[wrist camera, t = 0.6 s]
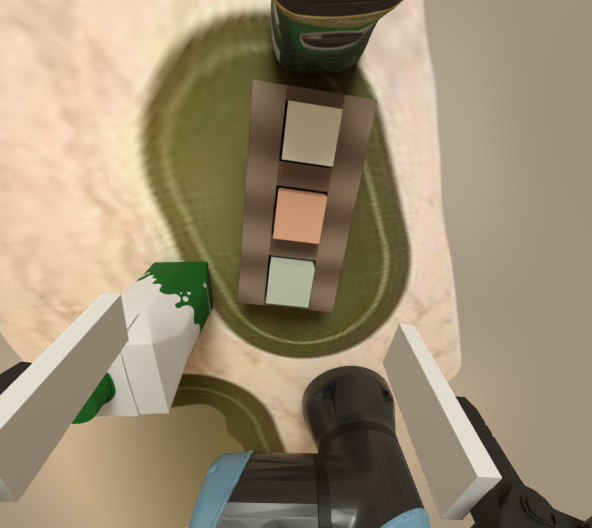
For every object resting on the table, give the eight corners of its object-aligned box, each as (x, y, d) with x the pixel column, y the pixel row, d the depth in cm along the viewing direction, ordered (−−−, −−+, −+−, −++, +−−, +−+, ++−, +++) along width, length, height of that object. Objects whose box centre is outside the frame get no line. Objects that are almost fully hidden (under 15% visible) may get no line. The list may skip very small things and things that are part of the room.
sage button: (306, 293, 37) (307, 307, 34) (267, 289, 37) (265, 303, 33) (312, 257, 35) (314, 269, 32) (271, 253, 35) (270, 264, 31)
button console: (326, 293, 41) (332, 312, 36) (243, 284, 40) (237, 302, 35) (364, 106, 32) (377, 99, 27) (258, 89, 31) (252, 79, 27)
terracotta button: (315, 234, 34) (319, 243, 31) (274, 229, 34) (273, 238, 30) (323, 192, 32) (327, 197, 29) (279, 186, 32) (278, 190, 28)
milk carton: (146, 256, 38) (14, 359, 20) (214, 255, 38) (147, 355, 20) (158, 312, 41) (55, 446, 23) (221, 311, 42) (169, 442, 23)
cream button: (327, 164, 31) (332, 166, 28) (282, 157, 31) (281, 159, 27) (336, 113, 29) (342, 109, 26) (288, 105, 29) (288, 100, 26)
